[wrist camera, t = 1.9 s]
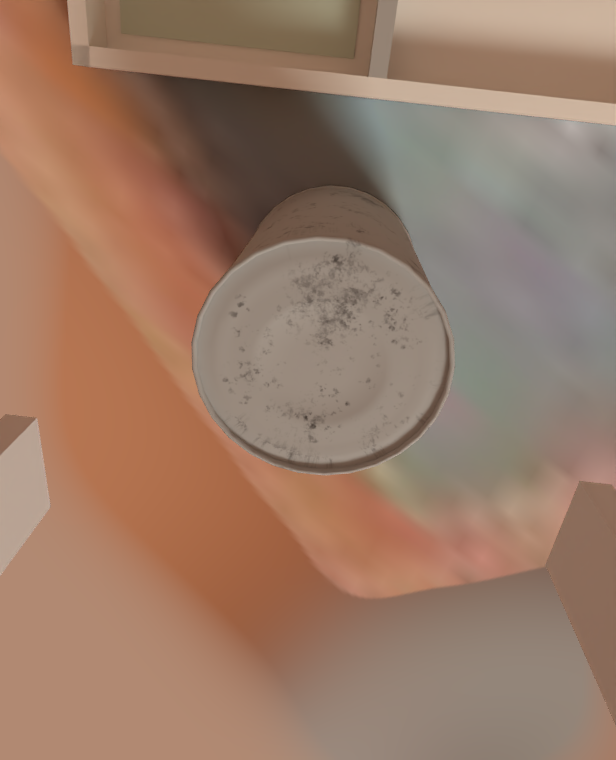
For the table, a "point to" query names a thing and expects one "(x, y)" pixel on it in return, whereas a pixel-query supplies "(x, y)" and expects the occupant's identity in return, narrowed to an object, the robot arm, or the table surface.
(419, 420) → the white speckled round cylinder
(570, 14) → the tray
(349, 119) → the table surface
